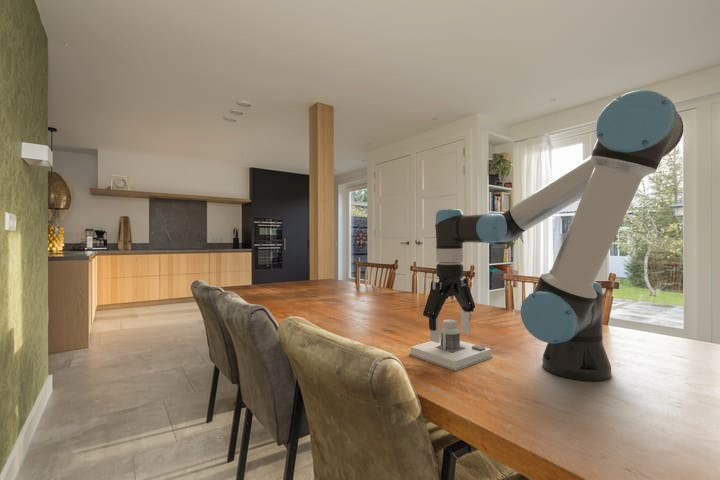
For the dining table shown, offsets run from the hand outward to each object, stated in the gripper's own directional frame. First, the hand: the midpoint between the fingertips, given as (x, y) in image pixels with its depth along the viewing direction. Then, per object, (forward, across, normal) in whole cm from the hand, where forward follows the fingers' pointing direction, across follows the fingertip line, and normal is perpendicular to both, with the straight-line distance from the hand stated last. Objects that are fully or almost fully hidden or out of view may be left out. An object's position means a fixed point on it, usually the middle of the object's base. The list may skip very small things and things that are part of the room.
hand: (450, 337), depth 105 cm
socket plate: (+5, 0, 0) cm, 5 cm away
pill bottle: (+5, 0, 0) cm, 5 cm away
